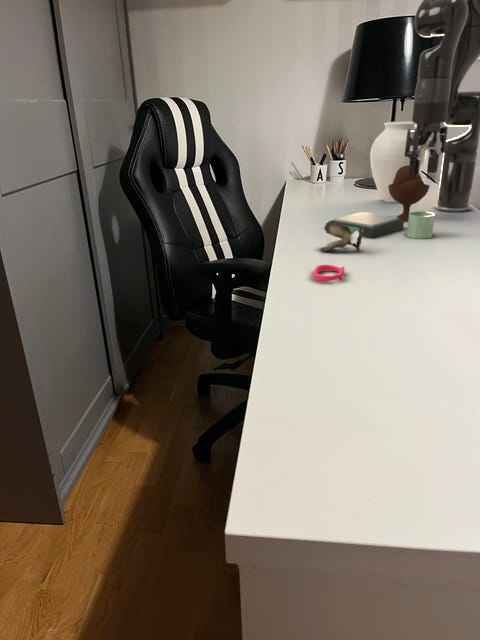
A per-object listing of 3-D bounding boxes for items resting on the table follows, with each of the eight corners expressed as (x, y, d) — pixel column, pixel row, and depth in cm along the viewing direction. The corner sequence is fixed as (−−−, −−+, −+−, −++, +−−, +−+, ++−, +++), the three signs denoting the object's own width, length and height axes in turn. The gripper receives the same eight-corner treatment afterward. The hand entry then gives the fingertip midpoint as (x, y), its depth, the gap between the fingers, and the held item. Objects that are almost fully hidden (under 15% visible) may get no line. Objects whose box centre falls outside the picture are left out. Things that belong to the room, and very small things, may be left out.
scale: (359, 221, 143) (360, 210, 142) (403, 228, 133) (404, 217, 132) (327, 230, 134) (328, 218, 133) (372, 238, 125) (372, 226, 123)
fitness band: (342, 284, 94) (342, 276, 93) (311, 282, 95) (311, 274, 95) (345, 271, 101) (345, 263, 101) (316, 269, 103) (316, 262, 102)
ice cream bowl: (428, 223, 138) (435, 167, 132) (386, 222, 140) (391, 167, 134) (423, 215, 148) (429, 162, 142) (384, 215, 150) (388, 162, 144)
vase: (394, 207, 161) (402, 123, 151) (356, 199, 175) (361, 122, 165) (432, 201, 169) (442, 121, 159) (392, 194, 183) (399, 120, 173)
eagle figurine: (360, 240, 119) (322, 232, 120) (367, 219, 113) (327, 211, 114) (355, 264, 115) (317, 256, 116) (362, 244, 109) (321, 235, 110)
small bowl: (414, 231, 130) (417, 210, 128) (436, 235, 126) (439, 213, 124) (402, 236, 126) (404, 214, 124) (424, 239, 122) (426, 217, 120)
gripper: (430, 100, 107) (421, 178, 113) (462, 99, 116) (452, 172, 122) (399, 101, 112) (392, 176, 118) (432, 100, 121) (424, 170, 127)
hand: (423, 174), depth 120 cm, fingers open, 8 cm apart
